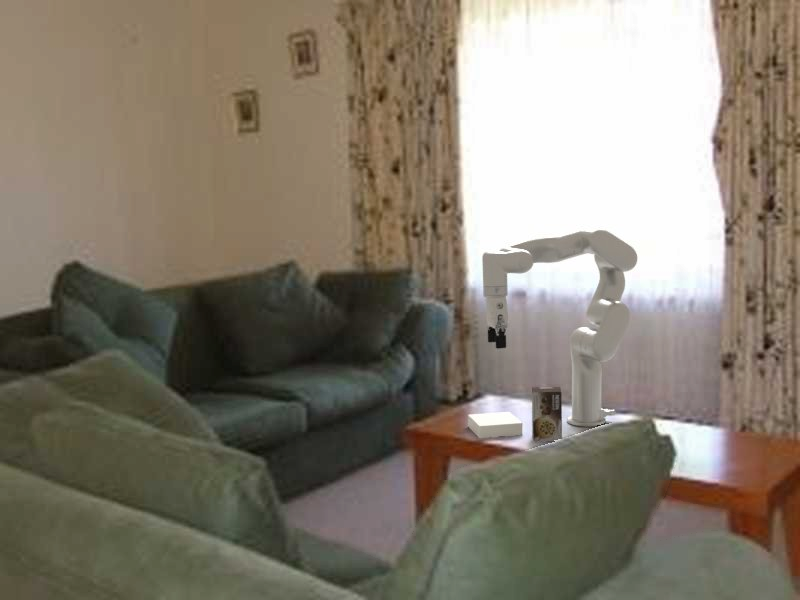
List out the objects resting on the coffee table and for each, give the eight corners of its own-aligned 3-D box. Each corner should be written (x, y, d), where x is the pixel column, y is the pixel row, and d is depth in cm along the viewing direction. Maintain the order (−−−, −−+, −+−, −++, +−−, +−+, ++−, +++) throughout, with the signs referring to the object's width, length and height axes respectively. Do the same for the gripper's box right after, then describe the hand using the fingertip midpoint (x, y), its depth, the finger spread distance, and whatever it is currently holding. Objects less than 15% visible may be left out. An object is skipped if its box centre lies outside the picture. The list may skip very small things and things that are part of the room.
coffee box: (560, 436, 303) (561, 386, 301) (562, 442, 297) (562, 391, 295) (531, 436, 304) (531, 386, 302) (532, 442, 298) (532, 391, 296)
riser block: (509, 423, 319) (509, 411, 318) (522, 435, 305) (522, 422, 305) (468, 426, 316) (468, 414, 316) (479, 438, 303) (479, 426, 302)
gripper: (514, 294, 291) (516, 349, 294) (500, 286, 308) (501, 339, 311) (490, 295, 290) (492, 351, 293) (477, 288, 307) (478, 340, 310)
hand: (496, 345), depth 302 cm, fingers open, 9 cm apart
